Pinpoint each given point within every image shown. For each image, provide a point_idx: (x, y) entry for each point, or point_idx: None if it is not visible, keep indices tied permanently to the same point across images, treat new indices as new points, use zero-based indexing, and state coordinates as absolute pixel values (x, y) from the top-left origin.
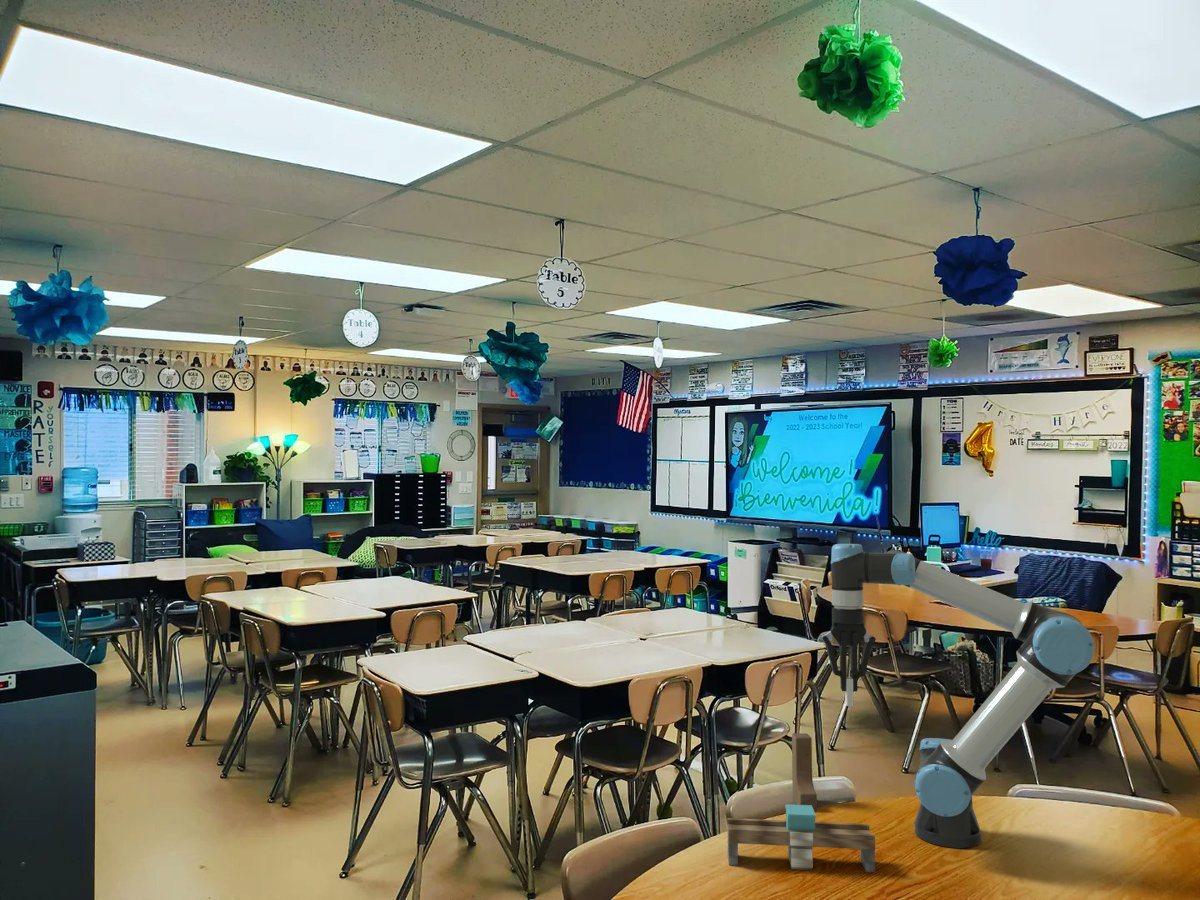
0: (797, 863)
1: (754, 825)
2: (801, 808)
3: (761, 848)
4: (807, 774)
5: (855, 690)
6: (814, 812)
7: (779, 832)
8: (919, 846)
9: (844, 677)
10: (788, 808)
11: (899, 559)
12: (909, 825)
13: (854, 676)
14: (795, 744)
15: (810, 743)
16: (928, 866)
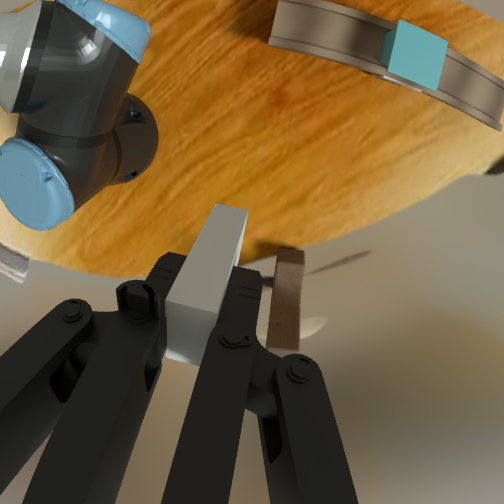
0: None
1: (467, 103)
2: (414, 61)
3: (425, 123)
4: (280, 300)
5: (174, 256)
6: (396, 33)
7: (448, 48)
8: (168, 98)
9: (233, 327)
10: (438, 69)
11: None
12: (155, 179)
13: (146, 304)
14: (299, 342)
15: (270, 339)
16: (186, 26)
